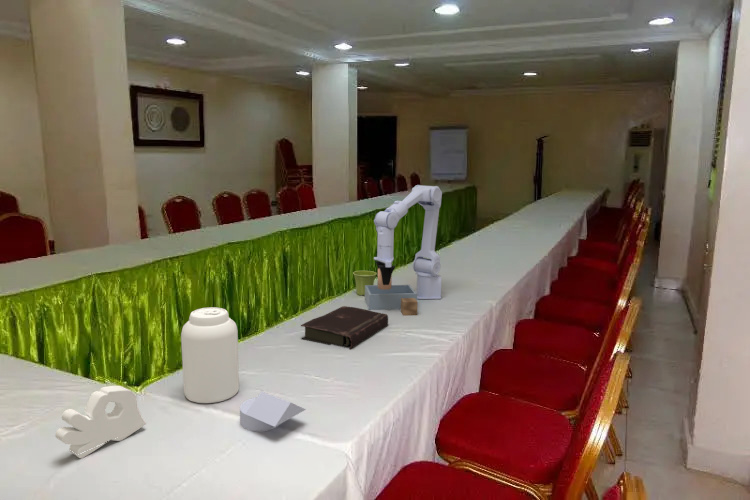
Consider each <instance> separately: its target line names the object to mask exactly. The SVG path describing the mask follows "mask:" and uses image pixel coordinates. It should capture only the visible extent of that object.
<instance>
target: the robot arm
mask: <svg viewBox="0 0 750 500" xmlns="http://www.w3.org/2000/svg"><path fill="white" fill-rule="evenodd" d="M442 196H443V192H442V190H441V189H440V187H439V186H438V185H435V186H434V185H421V184H417V185H415V186H414V187H412V188H411V192H410V193H409V194H408V195H407V196H405V197H404V199H403V200H395V201H394V202H393V203H392V204H391V205H390V206H389V207H386V208H385V210H384V211H381V210H380V211H379V212H377V213H376V214H375V216H374V219H373V223H374V225H375V230H376V232H377V243H376V245H377V248H376V249H377V250H376V252H377V253H376V256H374V257H373V260H374V261H375V264H376V266H377V269H378V268H380V271H381V275H382V282H383V285H389V283H390V279H391V275H392V274H393V272H394V271H395V269H396V266H395V265H392V263H393V262H394V259H395V258H394V245H395V244H394V242H395V241H394V240H395V239H394V238H395V237H394V236H395V235H394V233H395V228H396V227H397V226H398V223H399V221H400V220H401V219H402V218H403V217H404V216H405V215H407V213H408V212H409V209H410V208H411V207H412V206H414V205H416V204H419V205H420V206H422V208H423V209H424V210H425V212H424V220H423V229H422V238H421V239H422V240H421V246H420V247H421V248H420V250H419V251H417V252H416V253H415V255H414V256H415V257H414V260H413V262H412V269H413V271H414V272H415V275H416V293H417V300H441V299H442V277H441V275H440V274H439V273H440V271H441V268H442V267H441V256H440V255H439V254H438V253H437V252H436V251H435V249H436V241H437V233H438V222H439V215H440V214H439V213H440V208H441V206H442ZM392 276H393V275H392Z"/></svg>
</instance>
